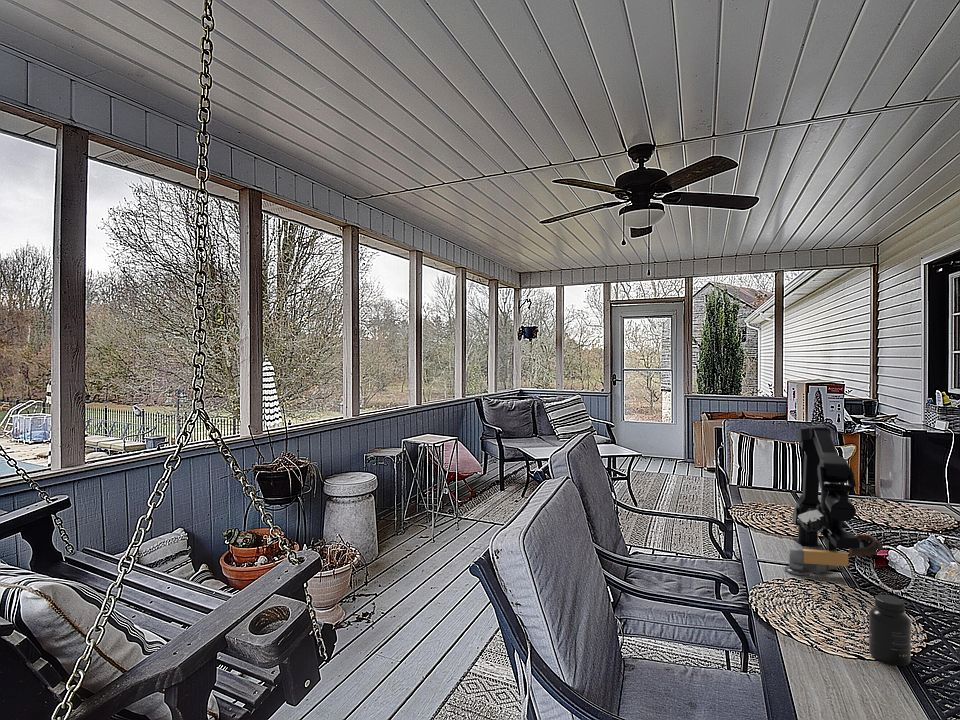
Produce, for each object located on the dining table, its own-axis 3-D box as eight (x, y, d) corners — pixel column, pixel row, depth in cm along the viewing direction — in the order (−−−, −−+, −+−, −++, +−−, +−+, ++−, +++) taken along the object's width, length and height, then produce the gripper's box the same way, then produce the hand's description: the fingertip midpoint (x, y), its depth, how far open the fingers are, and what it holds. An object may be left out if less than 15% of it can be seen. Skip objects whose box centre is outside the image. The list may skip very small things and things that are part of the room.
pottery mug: (897, 566, 161) (886, 543, 160) (864, 577, 163) (853, 554, 162) (874, 544, 172) (864, 522, 171) (844, 555, 175) (834, 533, 174)
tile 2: (803, 562, 164) (804, 553, 164) (813, 559, 166) (813, 551, 166) (827, 570, 157) (827, 561, 157) (837, 567, 160) (837, 558, 160)
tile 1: (792, 565, 161) (792, 556, 161) (802, 562, 163) (802, 554, 163) (816, 573, 155) (816, 564, 155) (826, 570, 157) (826, 561, 157)
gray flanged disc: (781, 567, 160) (781, 558, 160) (802, 568, 159) (802, 559, 159) (790, 575, 154) (790, 565, 154) (812, 576, 153) (812, 566, 153)
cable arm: (792, 563, 155) (792, 551, 155) (787, 558, 158) (787, 546, 158) (849, 567, 152) (849, 554, 152) (843, 562, 156) (843, 550, 156)
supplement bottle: (860, 649, 114) (860, 592, 114) (890, 648, 115) (891, 591, 115) (887, 668, 107) (887, 607, 107) (919, 666, 108) (920, 606, 108)
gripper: (787, 490, 164) (787, 538, 167) (818, 520, 145) (816, 573, 148) (827, 489, 162) (825, 537, 165) (863, 519, 144) (860, 573, 147)
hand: (830, 554), depth 156 cm, fingers closed
